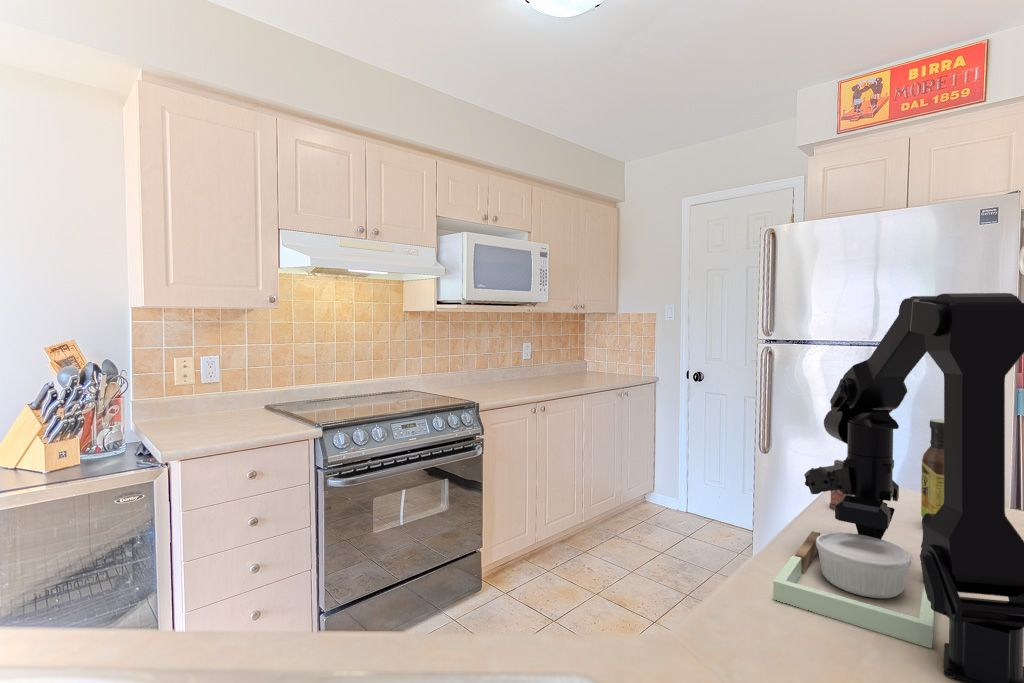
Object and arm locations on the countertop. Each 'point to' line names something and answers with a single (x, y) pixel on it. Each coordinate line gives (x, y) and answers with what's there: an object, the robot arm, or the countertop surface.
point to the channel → (809, 551)
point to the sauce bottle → (933, 470)
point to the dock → (854, 608)
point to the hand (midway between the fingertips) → (867, 554)
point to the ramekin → (863, 564)
